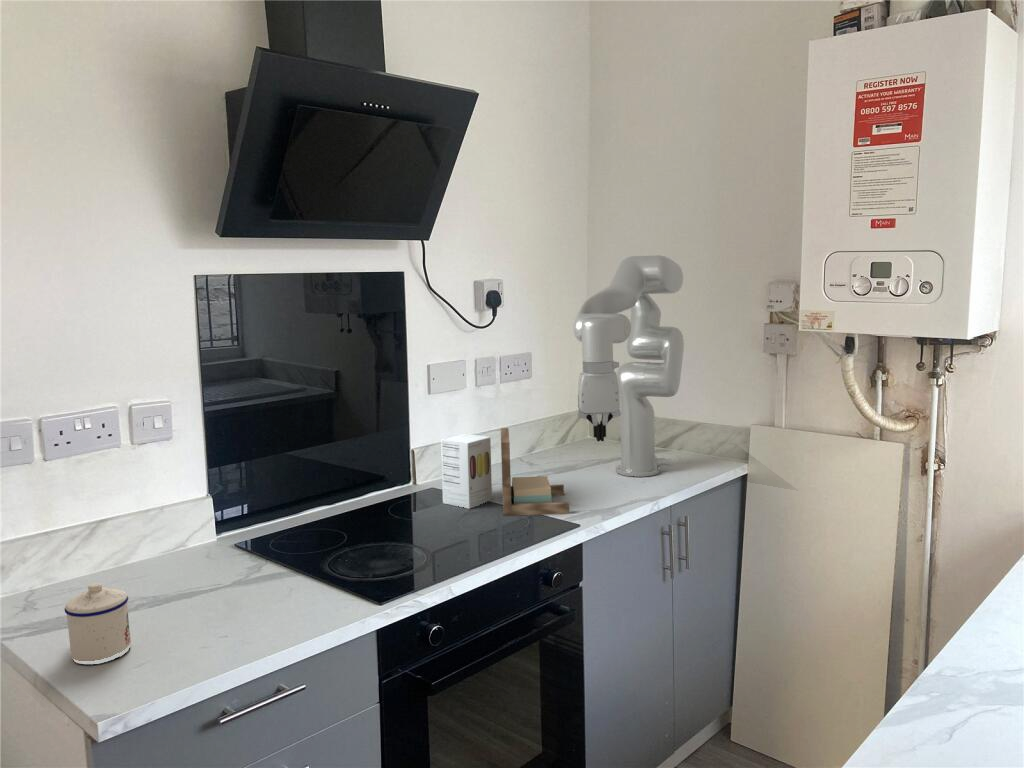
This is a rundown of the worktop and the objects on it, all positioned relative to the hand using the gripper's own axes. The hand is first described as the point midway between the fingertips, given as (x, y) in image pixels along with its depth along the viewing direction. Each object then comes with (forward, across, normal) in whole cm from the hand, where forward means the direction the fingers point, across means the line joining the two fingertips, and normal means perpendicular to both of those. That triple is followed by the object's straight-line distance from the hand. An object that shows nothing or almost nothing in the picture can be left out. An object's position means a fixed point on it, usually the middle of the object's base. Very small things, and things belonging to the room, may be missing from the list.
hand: (599, 439), depth 208 cm
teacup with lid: (+11, +91, +76) cm, 119 cm away
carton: (+16, +18, +2) cm, 24 cm away
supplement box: (+16, +34, -2) cm, 38 cm away
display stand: (+15, +17, +2) cm, 23 cm away
